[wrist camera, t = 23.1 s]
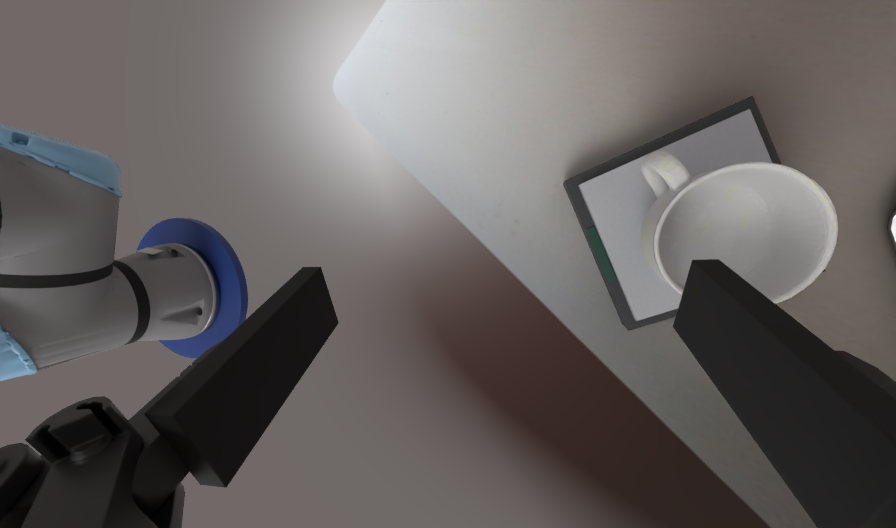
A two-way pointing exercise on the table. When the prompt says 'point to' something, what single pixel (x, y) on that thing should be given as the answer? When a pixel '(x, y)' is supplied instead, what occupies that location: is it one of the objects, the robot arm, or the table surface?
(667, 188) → the teacup
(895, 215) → the plate
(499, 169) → the table surface
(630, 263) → the scale
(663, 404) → the table surface
